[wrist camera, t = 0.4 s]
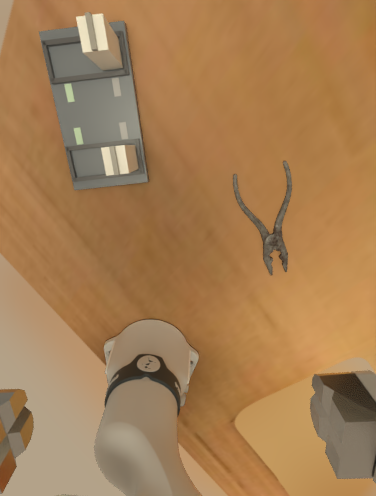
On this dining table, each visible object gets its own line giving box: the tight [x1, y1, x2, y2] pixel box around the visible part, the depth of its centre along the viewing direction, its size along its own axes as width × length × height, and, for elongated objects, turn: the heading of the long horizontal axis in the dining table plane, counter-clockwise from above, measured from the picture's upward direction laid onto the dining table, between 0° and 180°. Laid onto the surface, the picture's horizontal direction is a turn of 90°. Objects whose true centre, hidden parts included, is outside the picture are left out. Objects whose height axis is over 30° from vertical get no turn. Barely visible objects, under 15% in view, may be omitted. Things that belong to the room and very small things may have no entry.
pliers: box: [233, 161, 292, 275], centre depth 52 cm, size 10×1×20 cm
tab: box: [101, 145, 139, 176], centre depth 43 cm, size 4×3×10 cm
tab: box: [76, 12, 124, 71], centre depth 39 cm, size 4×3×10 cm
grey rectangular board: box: [39, 21, 149, 190], centre depth 46 cm, size 22×12×2 cm, turn 6°
